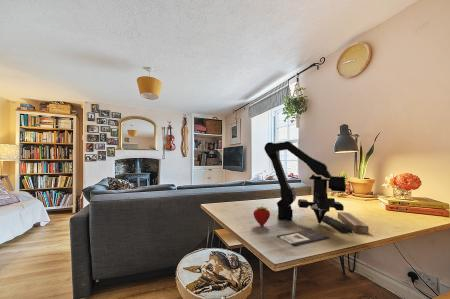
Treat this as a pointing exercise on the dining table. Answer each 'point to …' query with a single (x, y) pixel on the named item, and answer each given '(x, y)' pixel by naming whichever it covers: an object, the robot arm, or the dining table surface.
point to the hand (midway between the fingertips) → (319, 223)
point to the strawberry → (261, 215)
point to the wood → (337, 224)
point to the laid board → (353, 222)
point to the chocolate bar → (302, 237)
